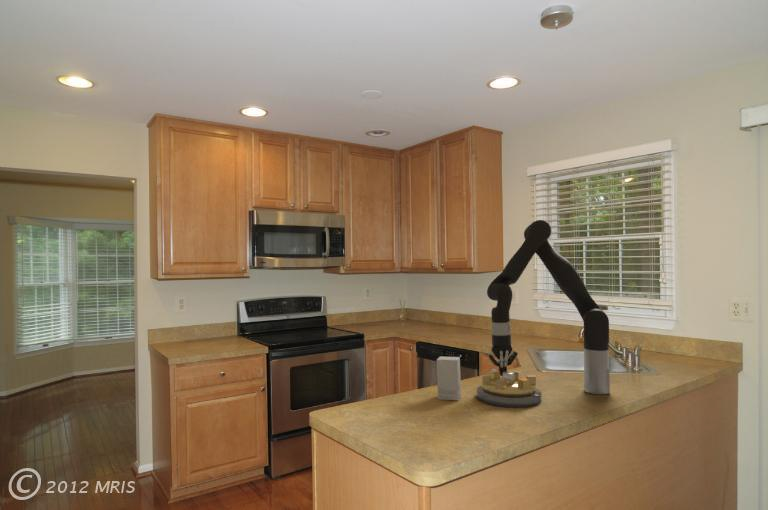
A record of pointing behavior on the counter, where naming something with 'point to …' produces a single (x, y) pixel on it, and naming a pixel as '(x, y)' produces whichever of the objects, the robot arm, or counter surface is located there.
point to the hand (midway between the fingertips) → (503, 376)
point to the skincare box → (448, 378)
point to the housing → (509, 399)
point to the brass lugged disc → (508, 384)
